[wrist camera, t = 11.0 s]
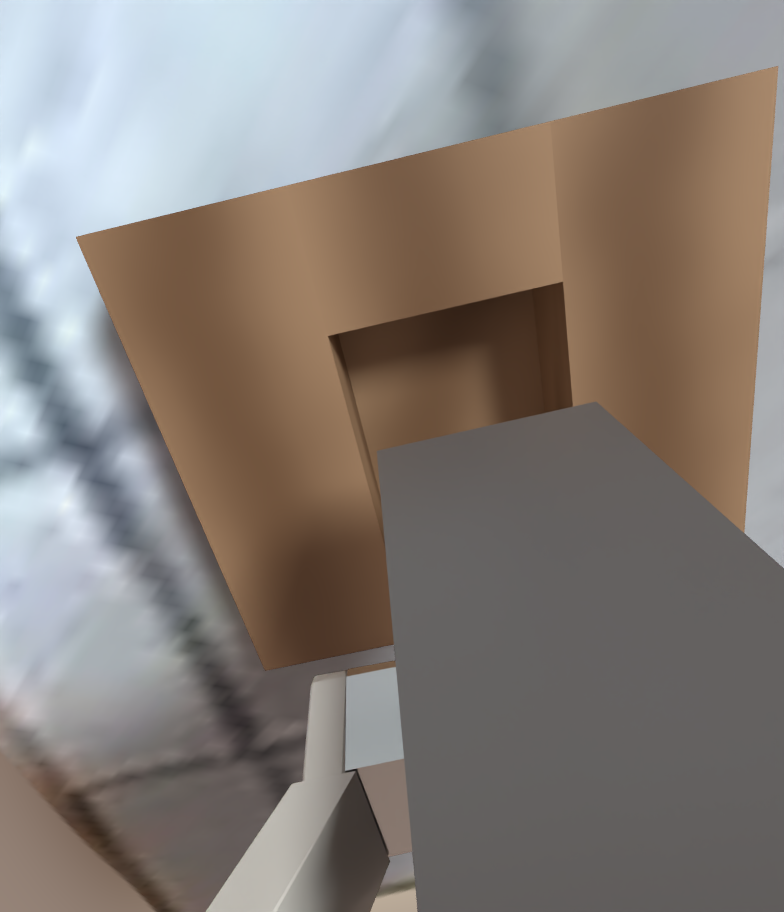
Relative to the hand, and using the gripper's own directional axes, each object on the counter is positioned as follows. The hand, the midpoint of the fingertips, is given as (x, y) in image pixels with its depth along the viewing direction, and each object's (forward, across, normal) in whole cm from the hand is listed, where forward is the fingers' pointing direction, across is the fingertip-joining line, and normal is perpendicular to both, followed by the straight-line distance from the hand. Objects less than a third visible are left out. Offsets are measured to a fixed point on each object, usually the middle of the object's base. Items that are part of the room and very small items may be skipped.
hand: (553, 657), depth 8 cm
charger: (+3, 0, 0) cm, 3 cm away
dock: (+12, 0, 0) cm, 12 cm away
